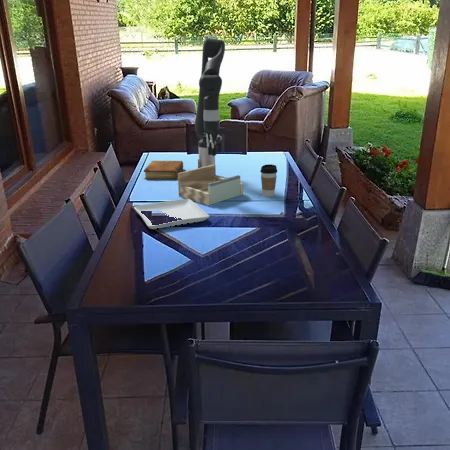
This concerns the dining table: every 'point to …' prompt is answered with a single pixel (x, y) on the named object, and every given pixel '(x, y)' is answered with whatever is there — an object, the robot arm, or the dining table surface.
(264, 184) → the coffee cup
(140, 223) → the dining table surface
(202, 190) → the tray
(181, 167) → the diary
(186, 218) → the square plate
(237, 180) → the panel
